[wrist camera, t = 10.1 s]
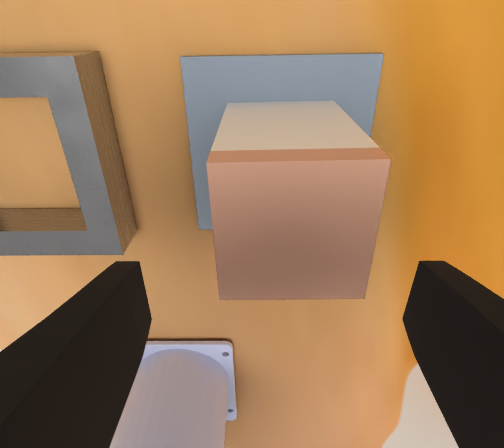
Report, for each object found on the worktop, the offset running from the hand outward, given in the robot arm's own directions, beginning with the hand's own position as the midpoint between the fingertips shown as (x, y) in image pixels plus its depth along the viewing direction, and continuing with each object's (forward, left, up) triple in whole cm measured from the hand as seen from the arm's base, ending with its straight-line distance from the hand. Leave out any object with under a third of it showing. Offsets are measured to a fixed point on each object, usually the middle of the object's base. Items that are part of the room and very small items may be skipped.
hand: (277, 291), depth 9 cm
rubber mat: (0, -1, -10) cm, 10 cm away
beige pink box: (0, -1, -10) cm, 10 cm away
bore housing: (0, +12, -10) cm, 16 cm away
